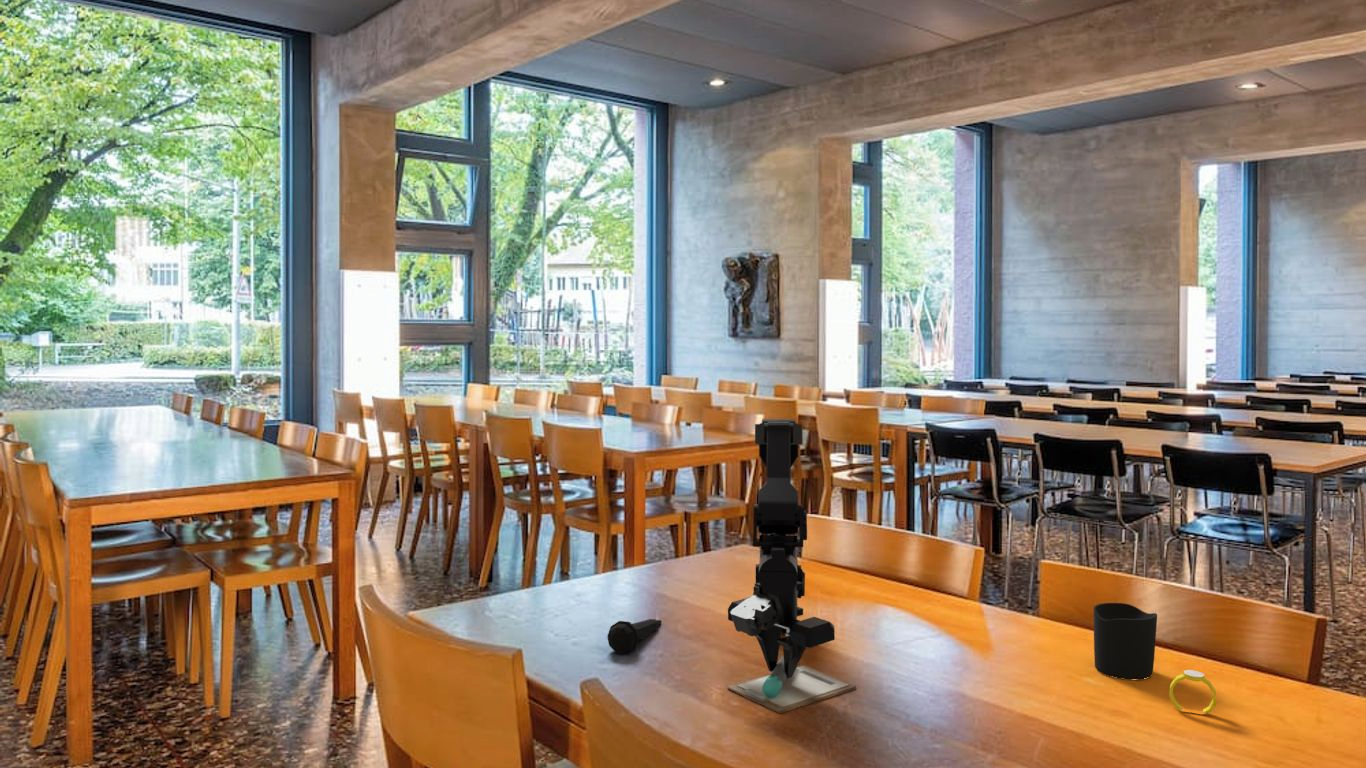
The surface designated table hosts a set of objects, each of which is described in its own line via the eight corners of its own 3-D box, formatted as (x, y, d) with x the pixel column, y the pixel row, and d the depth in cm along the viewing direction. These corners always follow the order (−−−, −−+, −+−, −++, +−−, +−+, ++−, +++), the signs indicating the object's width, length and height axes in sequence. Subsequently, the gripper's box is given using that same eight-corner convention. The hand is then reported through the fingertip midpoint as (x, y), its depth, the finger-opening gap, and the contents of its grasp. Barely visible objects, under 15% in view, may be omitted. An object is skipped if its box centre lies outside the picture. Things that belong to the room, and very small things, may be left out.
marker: (785, 666, 164) (779, 651, 164) (799, 662, 164) (794, 647, 164) (765, 699, 149) (759, 682, 150) (781, 695, 149) (775, 678, 149)
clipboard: (802, 667, 164) (802, 661, 164) (856, 688, 155) (856, 682, 155) (727, 689, 155) (727, 683, 155) (779, 713, 145) (779, 707, 145)
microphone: (651, 639, 189) (606, 660, 170) (643, 609, 189) (598, 627, 171) (677, 633, 187) (634, 654, 168) (669, 603, 188) (626, 620, 169)
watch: (1213, 714, 145) (1218, 674, 145) (1214, 721, 143) (1219, 681, 142) (1167, 704, 148) (1172, 665, 147) (1167, 711, 145) (1172, 671, 145)
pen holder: (1151, 665, 165) (1153, 605, 164) (1158, 684, 156) (1160, 622, 155) (1090, 659, 168) (1091, 600, 167) (1093, 678, 159) (1095, 616, 158)
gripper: (700, 574, 158) (703, 670, 159) (782, 600, 143) (784, 706, 144) (753, 562, 165) (755, 654, 166) (836, 585, 150) (837, 686, 151)
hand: (780, 674), depth 157 cm, fingers closed on marker, 3 cm apart
